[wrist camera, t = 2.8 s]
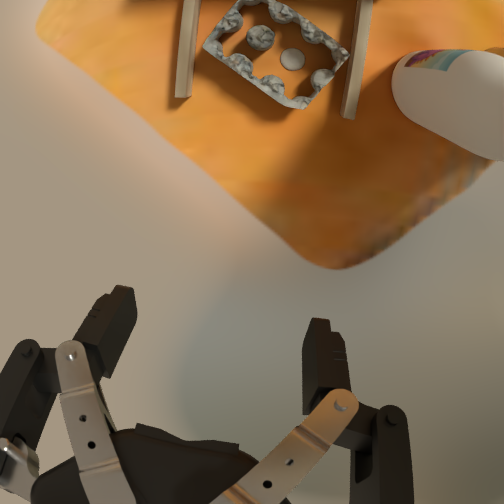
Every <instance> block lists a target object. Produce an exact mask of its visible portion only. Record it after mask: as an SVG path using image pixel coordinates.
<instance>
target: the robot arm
mask: <svg viewBox="0 0 504 504" xmlns="http://www.w3.org/2000/svg"><path fill="white" fill-rule="evenodd" d="M485 52H489V53H493V54H497V55H499V56H502V57H504V48H491V49H488V50H486V51H485ZM136 320H137V307H136V301H135V294H134V289H133V288H131V287H127V286H122V285H116V286H115V287H114V289H113V291H112V292H111V294H104V295H103V296H101V297H100V298H99V299H97V301H96V302H95V304H94V305H93V307H92V310H90V312H89V313H88V316H86V318H85V319H84V321H83V323H82V325H81V326H80V328H79V329H78V331H77V333H76V334H75V336H74V338H73V339H72V340H69V341H65V342H63V343H62V344H60V345H59V346H58V348H40V346H39V344H38V343H37V342H36V341H35V340H32V339H26V340H23V341H21V342H19V343H18V344H17V345H16V347H15V349H14V350H13V352H12V354H11V355H10V357H9V359H8V361H7V362H6V364H5V366H4V368H3V370H2V372H1V373H0V488H2V489H4V490H6V491H8V492H10V493H14V494H17V495H18V496H20V497H22V498H24V499H26V500H28V501H30V502H31V504H291V503H290V502H289V500H288V499H287V498H286V496H287V495H288V494H289V493H290V492H291V491H292V490H293V489H294V488H295V487H296V486H297V485H298V484H299V483H300V482H301V481H302V480H303V478H304V477H305V476H306V475H307V474H308V473H309V472H310V471H311V470H312V468H313V467H314V466H315V465H316V464H317V463H318V462H319V460H320V459H321V458H322V457H323V456H324V454H325V453H326V452H327V451H328V449H329V448H330V446H331V445H332V444H335V445H338V446H341V447H344V448H347V449H351V466H350V502H349V504H414V488H413V473H412V460H411V450H410V440H409V432H408V424H407V418H406V415H405V413H404V412H403V411H402V410H401V409H400V408H399V407H397V406H394V405H386V406H384V407H382V408H381V409H380V410H379V409H376V408H372V407H370V406H366V405H364V404H362V403H360V402H359V401H358V400H357V398H356V396H355V395H354V394H353V393H352V391H351V385H350V378H349V370H348V362H347V356H346V348H345V341H344V340H343V338H342V337H341V335H340V333H339V332H331V327H330V321H329V320H328V319H321V318H312V319H311V321H310V324H309V327H308V330H307V333H306V335H305V338H304V341H303V347H302V380H303V381H302V391H303V392H302V394H303V415H309V416H308V417H307V418H306V419H305V420H304V421H303V422H302V423H301V424H300V425H299V426H297V427H295V428H294V429H293V430H292V431H291V432H290V433H289V434H288V435H287V436H286V437H285V438H284V439H283V440H282V441H281V442H280V443H279V444H278V445H277V446H276V447H275V448H274V449H273V450H272V451H271V452H270V453H269V454H268V455H267V456H266V457H265V458H263V459H262V460H261V461H260V462H259V461H258V460H256V459H255V458H253V457H252V456H251V455H249V454H247V453H245V452H243V451H241V450H239V444H236V443H229V442H222V441H216V440H203V441H185V440H182V439H180V438H178V437H176V436H174V435H171V434H169V433H168V432H166V431H164V430H162V429H159V428H155V427H151V426H146V425H143V424H140V423H137V424H136V427H135V429H133V428H132V429H123V430H119V431H117V429H116V427H115V424H114V422H113V420H112V418H111V415H110V412H109V410H108V407H107V404H106V401H105V398H104V395H103V392H102V389H101V385H100V383H99V382H100V380H101V378H102V376H103V377H106V378H109V379H110V378H111V376H112V374H113V371H114V369H115V367H116V365H117V362H118V360H119V358H120V356H121V353H122V351H123V349H124V347H125V345H126V343H127V341H128V339H129V337H130V334H131V332H132V330H133V328H134V326H135V324H136ZM58 393H62V394H60V403H61V407H62V411H63V415H64V420H65V423H66V427H67V431H68V434H69V438H70V442H71V445H72V448H73V451H74V455H75V456H73V457H71V458H70V459H68V460H66V461H65V462H63V463H61V464H59V465H57V466H56V467H54V468H52V469H50V470H49V471H47V472H45V473H43V474H41V475H40V476H39V472H38V471H39V458H38V456H37V454H36V452H35V451H36V448H37V445H38V442H39V439H40V437H41V434H42V431H43V429H44V426H45V423H46V421H47V418H48V416H49V413H50V410H51V408H52V406H53V403H54V401H55V399H56V396H57V394H58Z"/></svg>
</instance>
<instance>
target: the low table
mask: <svg viewBox="0 0 504 504" xmlns="http://www.w3.org/2000/svg"><path fill="white" fill-rule="evenodd" d="M200 6H201V0H184V5H183V13H182V21H181V30H180V39H179V49H178V60H177V73H176V86H175V97H182V98H186V97H189V96H191V95H192V82H193V70H194V59H195V49H196V40H197V31H198V22H199V14H200ZM372 6H373V0H357V6H356V14H355V22H354V29H353V36H352V43H351V50H350V57H349V63H348V69H347V76H346V82H345V87H344V93H343V99H342V105H341V110H340V115H341V116H342V117H343V118H347V119H351V120H354V119H355V114H356V109H357V104H358V98H359V93H360V87H361V82H362V76H363V70H364V64H365V57H366V51H367V44H368V37H369V30H370V22H371V15H372Z"/></svg>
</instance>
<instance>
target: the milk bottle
mask: <svg viewBox="0 0 504 504" xmlns="http://www.w3.org/2000/svg"><path fill="white" fill-rule="evenodd" d="M392 93H393V97H394V99H395V102H396V104H397V106H398V107H399V109H400V110H401V111H402V113H403V114H404V115H405V116H406V117H407V118H409V119H410V120H411V121H413V122H415V123H417V124H418V125H420V126H422V127H424V128H426V129H428V130H430V131H432V132H434V133H436V134H438V135H440V136H442V137H444V138H445V139H447V140H449V141H451V142H453V143H455V144H457V145H458V146H460V147H462V148H464V149H466V150H468V151H470V152H472V153H474V154H476V155H478V156H481V157H484V158H487V159H490V160H495V161H504V57H502V56H499V55H497V54H493V53H489V52H485V51H476V50H455V49H446V50H423V51H415V52H412V53H409V54H407V55H405V56H404V57H403V58H402V59H401V60H400V61H399V62H398V63H397V65H396V67H395V69H394V71H393V75H392Z"/></svg>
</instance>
